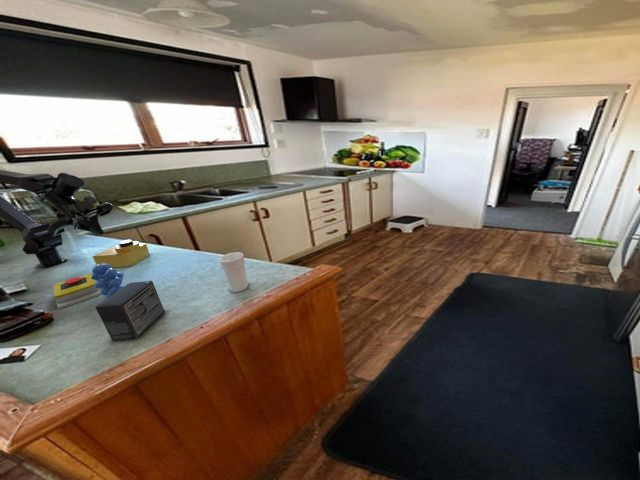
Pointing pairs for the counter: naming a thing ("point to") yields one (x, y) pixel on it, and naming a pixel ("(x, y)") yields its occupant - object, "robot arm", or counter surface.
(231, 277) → the cup
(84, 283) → the emergency button
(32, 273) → the counter surface
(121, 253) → the yellow angular block
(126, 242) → the press button
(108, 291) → the grapes
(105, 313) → the small box
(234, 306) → the counter surface
